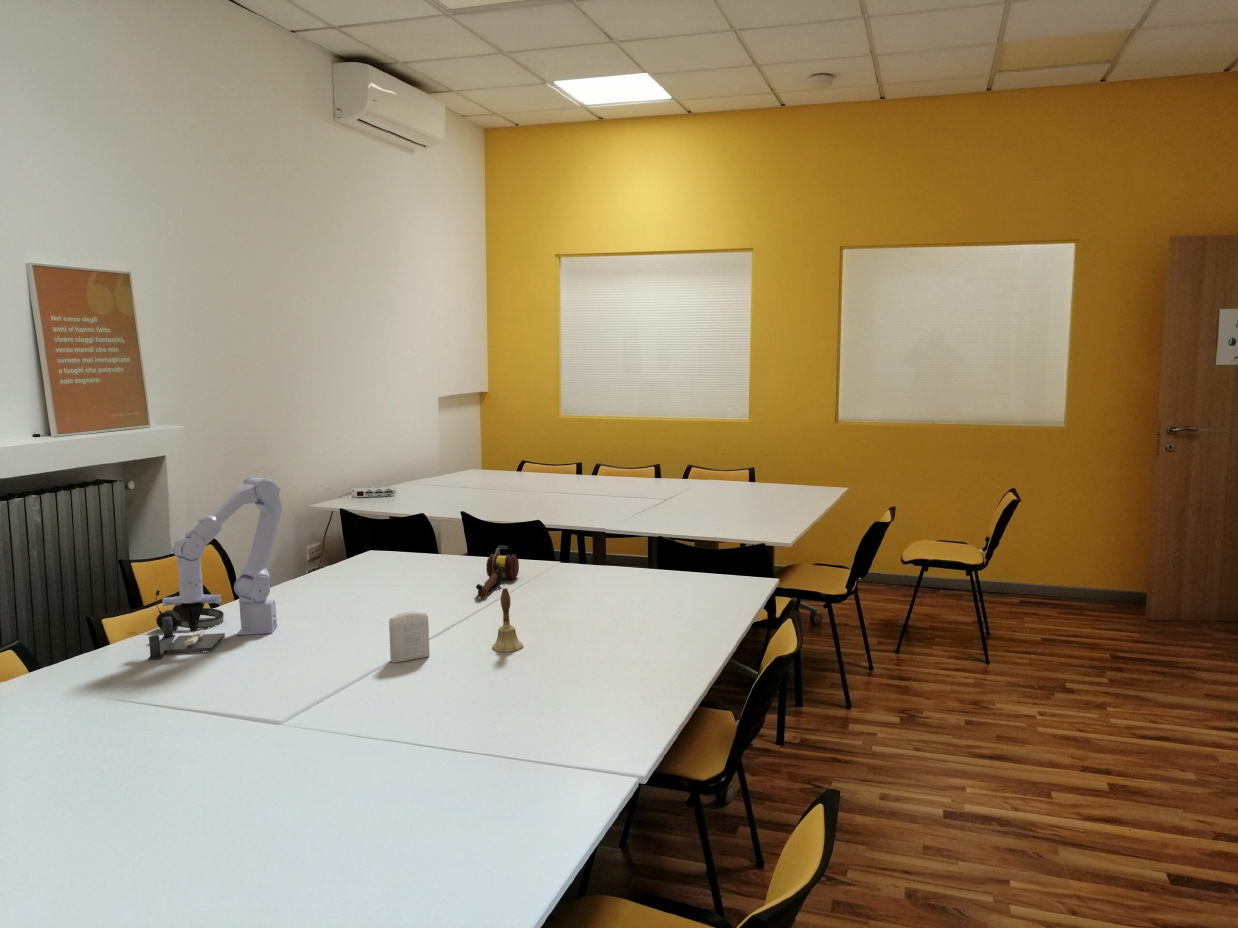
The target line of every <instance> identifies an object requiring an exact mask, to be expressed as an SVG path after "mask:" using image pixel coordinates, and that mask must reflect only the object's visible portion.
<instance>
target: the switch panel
mask: <svg viewBox="0 0 1238 928" xmlns="http://www.w3.org/2000/svg"><path fill="white" fill-rule="evenodd" d="M191 635H192V634H187V635H186V634H185V635H178V636H177V638H176V637H175V638H174V639H173V641H172V642H171V644H170V645H169V646H168V647H167V648H166V649H165V650H164V655H165V656H166V655H179V654H178V653H184V654H191V653H190V652H200V653H204V652H203V651H212V650H213V649H214V648H215V647H216V646H217V645H220V643H221V642H222V641H223V640H224V639H225V638H226V633H225V632H220V633H204V634H203V635H202V636H201V637H198V640H197V641H196V642H195V643H194V644H190V645H187V646H185V644H184V642H185V641H186V640H187V639H188V638H191ZM224 637H225V638H224ZM223 638H224V639H223ZM222 639H223V640H222ZM221 640H222V641H221ZM217 647H218V646H217ZM217 647H216V648H217ZM216 648H215V649H216ZM215 649H214V650H215ZM214 650H213V651H214ZM213 651H212V652H213ZM164 655H163V656H164Z"/></svg>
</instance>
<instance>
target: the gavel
mask: <svg viewBox="0 0 1238 928" xmlns="http://www.w3.org/2000/svg"><path fill="white" fill-rule="evenodd" d="M501 550H508V546H506V545H498V546H497V548H496V549H495V552H494V553H492V554H490V555H489V557H487V560H486V569H485V570H486V574H487V576H488V579H487V581H486V582H485V583H484V585H482V584H480V583H477V584H476V586H475V589H476V590H477V595H478V597H480V598H485V597H487V596H488V592H492V591H493V590H497V588H498V586H500V585H501V584H502V583H501V582H502V581H503V579H504V578H505V579H506V580H509V579H511V580H512V581H513V580H515V579H516V577H518V576H519V570H520V562H519V559H518V557H517V555H516V554H515V553H514V554H511V555H510V554H509V553H508V554H507V555H501Z"/></svg>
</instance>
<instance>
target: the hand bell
mask: <svg viewBox="0 0 1238 928" xmlns="http://www.w3.org/2000/svg"><path fill="white" fill-rule="evenodd" d="M500 605H501V610H502V624H503V625H501V626H499V627H498V630H497V631H498V632H497V636H496V637H497V638H496V640H495V642H494V643H493V645H492V646H491V650H493V651H494V652H498V653H511V652H512V653H513V652H516V651H520V650H521V649H522V648H524V645H523V643H522V642H521V641H520V639H519V637H518V635H517V633H516V632H517V631H516V628H515V626H513V625H511V624H510V621H511V620H510V607H511V595H510V593H509V590H508V587H507V588H506V587H505V588H504V587H503V588H502V590H501V595H500Z"/></svg>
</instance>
